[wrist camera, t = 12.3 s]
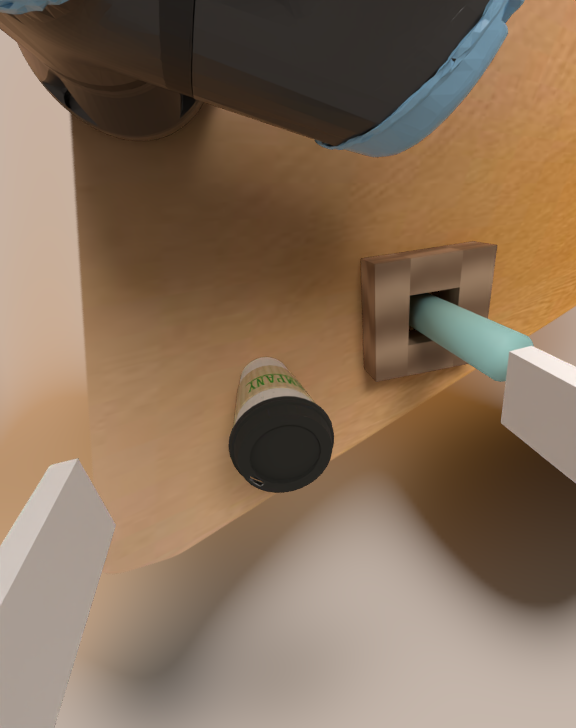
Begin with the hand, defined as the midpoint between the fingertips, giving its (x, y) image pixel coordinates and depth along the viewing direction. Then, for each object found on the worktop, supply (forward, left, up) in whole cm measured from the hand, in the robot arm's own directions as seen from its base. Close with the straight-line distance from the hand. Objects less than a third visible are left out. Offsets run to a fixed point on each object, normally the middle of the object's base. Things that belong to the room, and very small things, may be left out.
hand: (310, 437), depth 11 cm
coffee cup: (+14, 0, -32) cm, 34 cm away
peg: (+8, +20, -31) cm, 38 cm away
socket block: (+8, +20, -31) cm, 38 cm away
